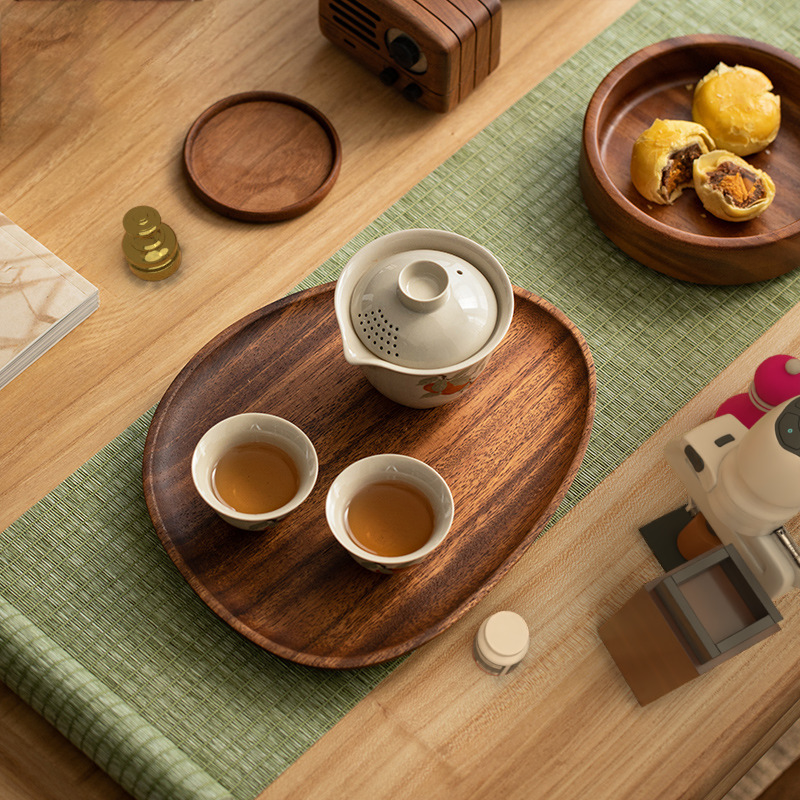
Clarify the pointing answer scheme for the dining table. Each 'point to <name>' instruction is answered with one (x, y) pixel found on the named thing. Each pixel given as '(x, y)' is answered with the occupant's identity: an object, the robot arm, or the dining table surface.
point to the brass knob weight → (149, 244)
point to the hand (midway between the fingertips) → (708, 533)
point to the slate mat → (667, 537)
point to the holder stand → (688, 623)
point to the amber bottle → (697, 538)
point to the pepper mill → (765, 390)
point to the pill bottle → (501, 643)
